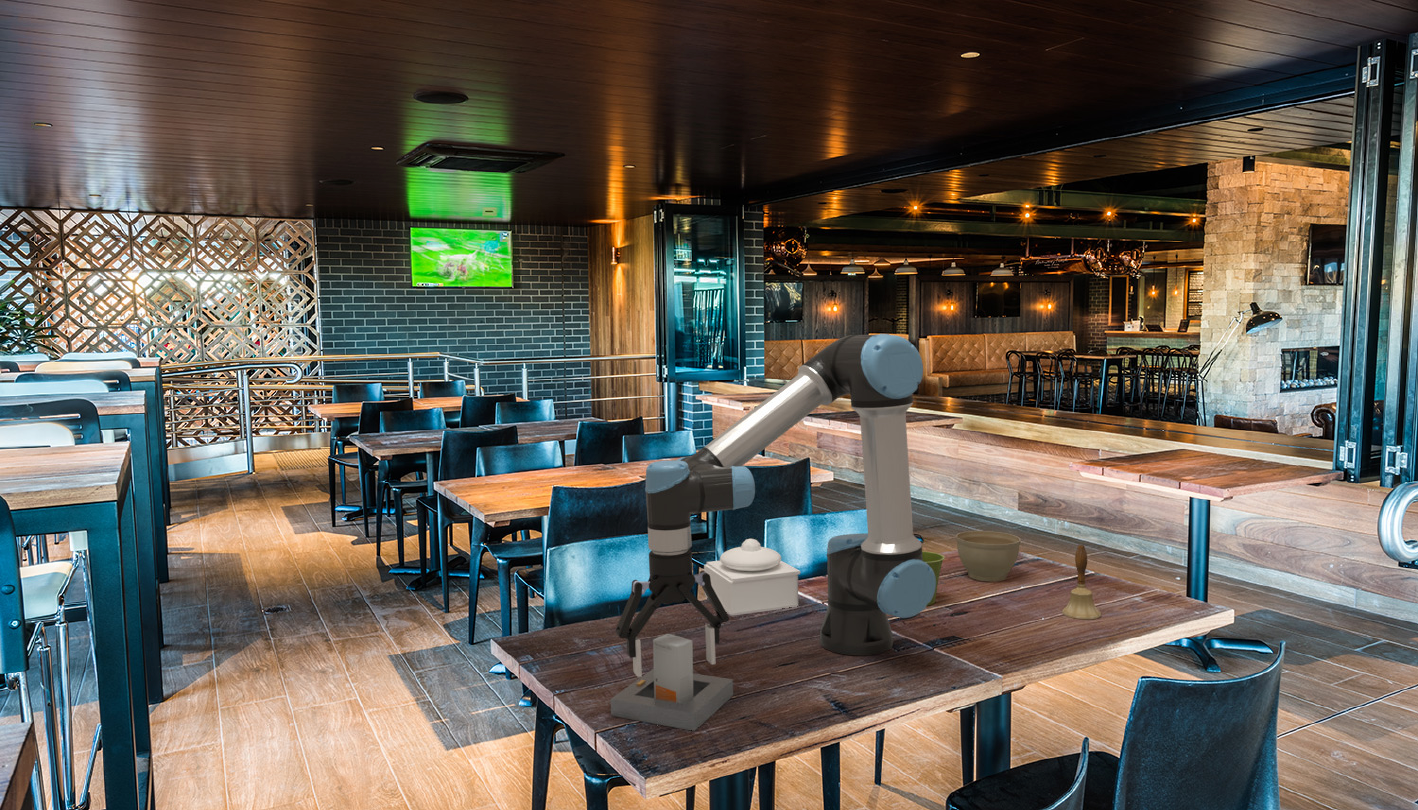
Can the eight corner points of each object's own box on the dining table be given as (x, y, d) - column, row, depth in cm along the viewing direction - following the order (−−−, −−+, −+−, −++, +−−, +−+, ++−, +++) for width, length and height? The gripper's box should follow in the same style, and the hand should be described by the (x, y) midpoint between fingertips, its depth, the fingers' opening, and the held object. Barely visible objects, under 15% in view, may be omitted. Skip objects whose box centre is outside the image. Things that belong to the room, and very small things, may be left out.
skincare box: (653, 704, 162) (651, 639, 161) (669, 697, 165) (668, 632, 164) (678, 713, 158) (676, 646, 157) (694, 705, 161) (693, 639, 160)
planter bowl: (1010, 589, 229) (1011, 546, 228) (947, 580, 238) (947, 539, 237) (1027, 574, 242) (1027, 534, 241) (966, 567, 251) (966, 528, 250)
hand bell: (1061, 617, 206) (1062, 548, 205) (1062, 607, 213) (1063, 540, 212) (1101, 621, 203) (1102, 550, 201) (1100, 610, 210) (1101, 542, 209)
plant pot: (951, 599, 221) (951, 553, 221) (935, 612, 211) (935, 564, 211) (904, 592, 228) (904, 548, 227) (886, 605, 218) (886, 558, 217)
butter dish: (704, 596, 228) (703, 534, 227) (770, 588, 234) (769, 527, 233) (730, 616, 212) (729, 549, 211) (800, 607, 218) (799, 541, 217)
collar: (733, 695, 165) (732, 677, 165) (694, 731, 151) (694, 711, 151) (655, 682, 172) (654, 665, 172) (611, 715, 158) (610, 697, 157)
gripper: (728, 537, 167) (732, 650, 169) (595, 553, 159) (600, 672, 160) (744, 546, 160) (748, 663, 162) (605, 563, 151) (611, 687, 153)
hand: (674, 668), depth 161 cm, fingers open, 13 cm apart
